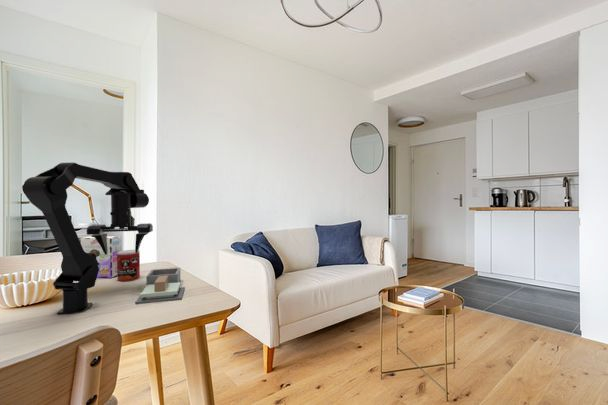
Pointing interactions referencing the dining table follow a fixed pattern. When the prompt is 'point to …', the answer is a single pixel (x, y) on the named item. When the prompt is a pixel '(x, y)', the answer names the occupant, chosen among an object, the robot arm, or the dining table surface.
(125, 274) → the canned food
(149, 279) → the storage box
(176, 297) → the mat
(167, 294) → the lid
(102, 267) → the candy box
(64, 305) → the robot arm
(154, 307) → the dining table surface
